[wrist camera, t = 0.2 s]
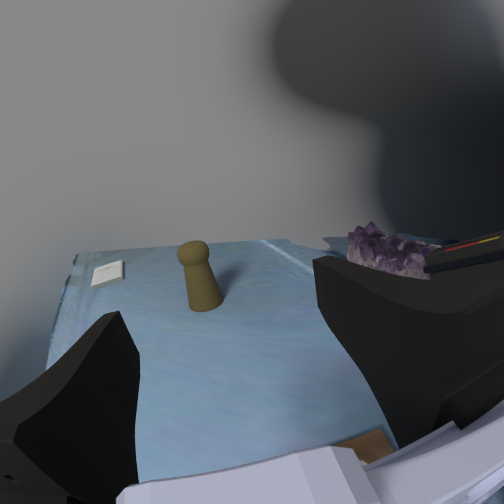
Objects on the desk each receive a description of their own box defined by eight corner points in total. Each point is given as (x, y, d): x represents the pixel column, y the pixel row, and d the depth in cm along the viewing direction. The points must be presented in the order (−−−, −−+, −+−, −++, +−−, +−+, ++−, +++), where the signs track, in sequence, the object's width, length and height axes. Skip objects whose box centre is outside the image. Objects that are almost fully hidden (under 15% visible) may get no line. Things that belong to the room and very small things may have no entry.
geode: (323, 281, 56) (322, 224, 53) (367, 266, 61) (368, 215, 58) (419, 322, 38) (428, 249, 36) (456, 296, 43) (463, 234, 41)
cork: (229, 295, 56) (216, 236, 52) (211, 314, 52) (194, 251, 48) (201, 292, 59) (187, 236, 55) (182, 309, 54) (165, 250, 50)
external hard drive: (92, 292, 69) (96, 273, 80) (124, 282, 71) (123, 264, 82) (90, 286, 69) (94, 268, 80) (121, 275, 71) (121, 259, 82)
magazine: (524, 369, 24) (502, 238, 24) (437, 366, 36) (408, 260, 36) (532, 350, 25) (511, 227, 25) (451, 351, 37) (423, 250, 38)
